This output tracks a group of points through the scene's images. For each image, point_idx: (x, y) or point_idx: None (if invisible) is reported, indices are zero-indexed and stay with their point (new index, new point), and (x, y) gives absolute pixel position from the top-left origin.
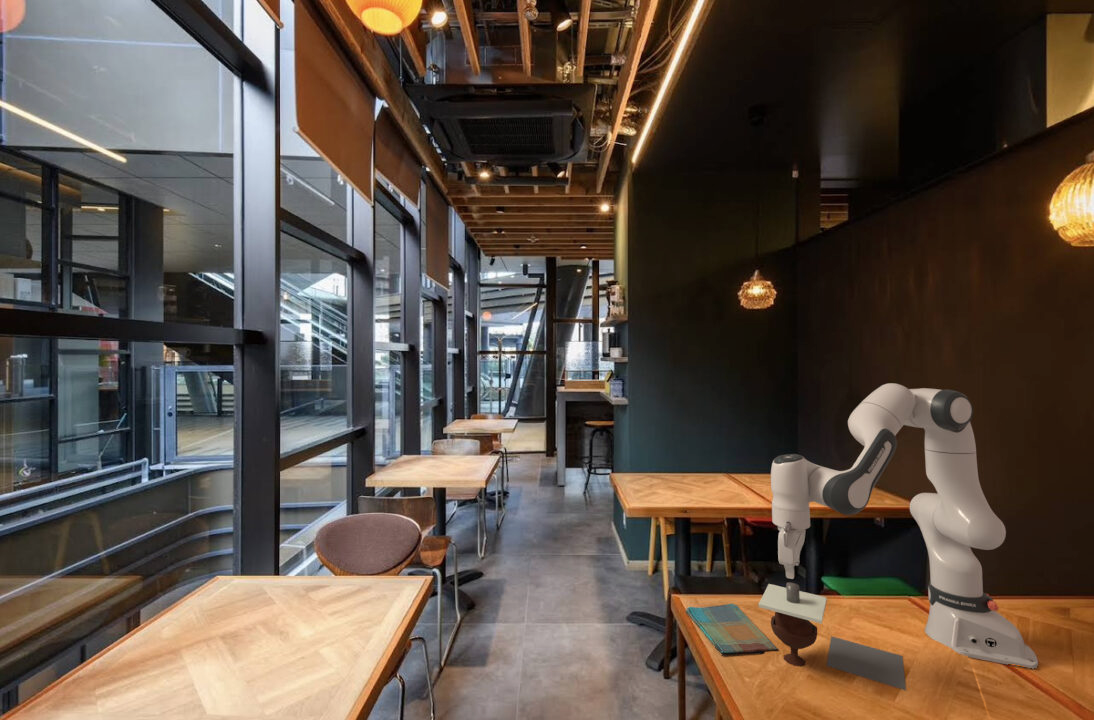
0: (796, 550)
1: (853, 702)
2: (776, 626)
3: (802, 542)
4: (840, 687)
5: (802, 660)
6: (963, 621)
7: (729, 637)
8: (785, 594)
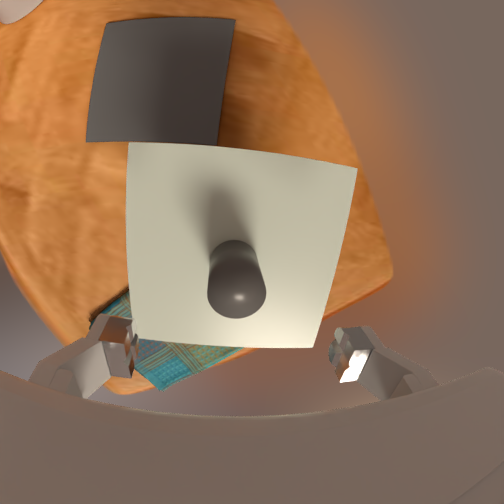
0: (481, 441)
1: (316, 109)
2: None
3: (27, 419)
4: (278, 124)
5: None
6: None
7: None
8: (190, 288)
